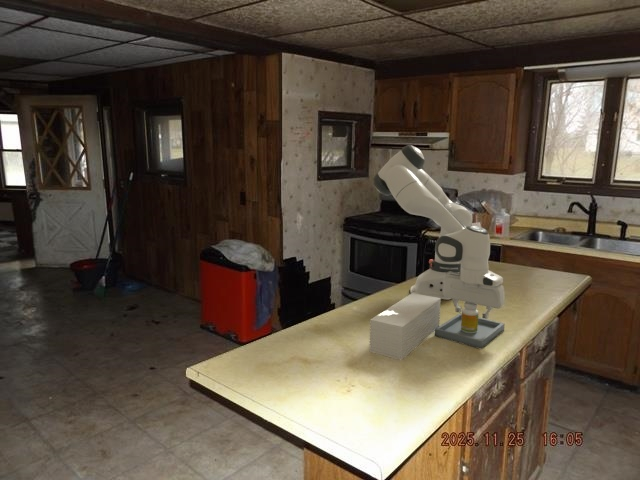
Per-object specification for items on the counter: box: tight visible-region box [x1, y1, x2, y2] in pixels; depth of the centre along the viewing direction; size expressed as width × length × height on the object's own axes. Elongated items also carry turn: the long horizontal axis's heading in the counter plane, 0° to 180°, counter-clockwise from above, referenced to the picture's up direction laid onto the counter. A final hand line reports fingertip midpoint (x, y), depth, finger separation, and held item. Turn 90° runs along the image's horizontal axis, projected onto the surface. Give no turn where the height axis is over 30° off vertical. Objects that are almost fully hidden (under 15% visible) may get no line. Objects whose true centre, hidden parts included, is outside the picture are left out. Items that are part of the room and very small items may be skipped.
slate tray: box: [434, 312, 505, 350], centre depth 162 cm, size 20×16×2 cm
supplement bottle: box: [461, 302, 479, 333], centre depth 161 cm, size 5×5×10 cm
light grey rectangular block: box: [368, 293, 442, 361], centre depth 157 cm, size 32×11×11 cm, turn 146°
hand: (471, 315), depth 161 cm, fingers open, 8 cm apart
